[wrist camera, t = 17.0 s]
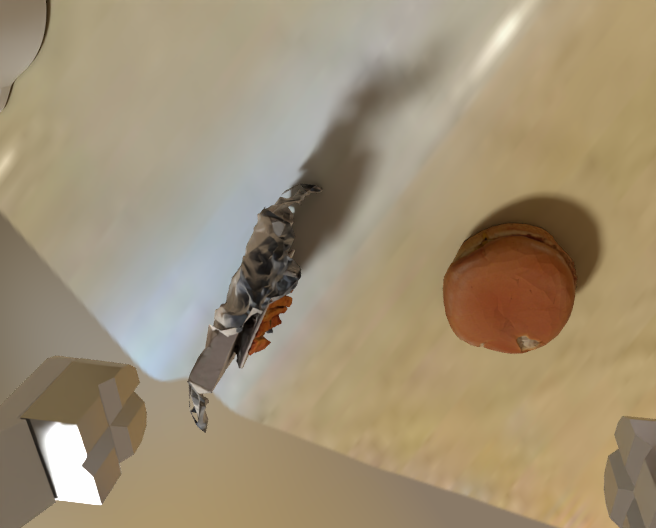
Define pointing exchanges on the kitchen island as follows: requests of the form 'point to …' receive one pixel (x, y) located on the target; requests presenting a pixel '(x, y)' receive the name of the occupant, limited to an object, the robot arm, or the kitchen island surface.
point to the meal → (250, 300)
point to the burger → (509, 289)
